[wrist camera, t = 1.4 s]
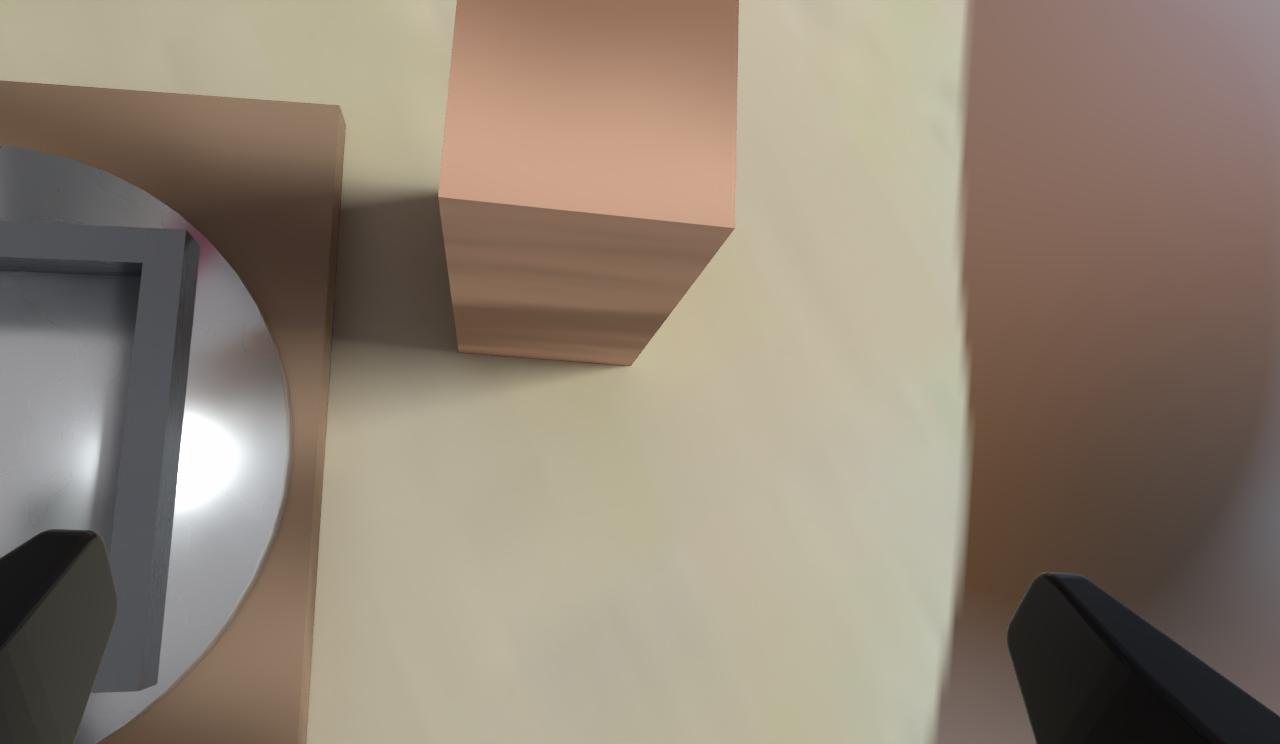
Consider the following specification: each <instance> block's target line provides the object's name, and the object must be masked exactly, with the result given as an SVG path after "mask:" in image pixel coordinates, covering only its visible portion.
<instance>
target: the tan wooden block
mask: <svg viewBox="0 0 1280 744" xmlns="http://www.w3.org/2000/svg"><path fill="white" fill-rule="evenodd" d="M738 15H739V0H457V6H456V16H455V26H454V37H453V47H452V57H451V68H450V78H449V88H448V98H447V109H446V119H445V129H444V140H443V150H442V160H441V171H440V181H439V191H438V201H439V208H440V216H441V223H442V231H443V238H444V246H445V253H446V261H447V268H448V276H449V283H450V291H451V298H452V306H453V313H454V321H455V328H456V336H457V343H458V351H459V352H460V353H472V354H485V355H498V356H511V357H524V358H537V359H550V360H563V361H576V362H588V363H601V364H614V365H627V366H631V365H632V364H633V362H634V361H635V360H636V358H637V357H638V356H639V354H640V353H641V352H642V350H643V349H644V348H645V346H646V345H647V344H648V342H649V341H650V340H651V338H652V337H653V336H654V334H655V333H656V332H657V330H658V329H659V328H660V327H661V325H662V324H663V323H664V321H665V320H666V319H667V317H668V316H669V315H670V313H671V312H672V311H673V309H674V308H675V307H676V305H677V304H678V303H679V301H680V300H681V299H682V297H683V296H684V295H685V293H686V292H687V291H688V289H689V288H690V287H691V285H692V284H693V283H694V282H695V280H696V279H697V278H698V276H699V275H700V274H701V272H702V271H703V270H704V268H705V267H706V266H707V264H708V263H709V262H710V260H711V259H712V258H713V256H714V255H715V254H716V252H717V251H718V250H719V248H720V247H721V246H722V244H723V243H724V242H725V240H726V239H727V238H728V237H729V235H730V234H731V233H732V231H733V230H734V229H735V189H736V131H737V73H738Z"/></svg>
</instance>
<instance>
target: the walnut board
mask: <svg viewBox="0 0 1280 744" xmlns="http://www.w3.org/2000/svg"><path fill="white" fill-rule="evenodd" d="M345 126H346V124H345V121H344V118H343V115H342V112H341V109H340V106H339V105H326V104H312V103H298V102H285V101H271V100H258V99H244V98H230V97H217V96H203V95H189V94H176V93H162V92H148V91H135V90H121V89H108V88H94V87H80V86H67V85H53V84H39V83H26V82H12V81H0V145H3V146H11V147H20V148H27V149H32V150H36V151H40V152H45V153H49V154H53V155H57V156H62V157H66V158H70V159H73V160H75V161H78V162H81V163H84V164H86V165H89V166H92V167H95V168H98V169H100V170H103V171H106V172H109V173H111V174H113V175H115V176H117V177H119V178H120V179H122V180H124V181H126V182H128V183H130V184H132V185H134V186H136V187H138V188H140V189H142V190H144V191H146V192H147V193H149V194H150V195H152V196H153V197H155V198H156V199H158V200H159V201H161V202H162V203H164V204H165V205H167V206H168V207H170V208H171V209H173V210H174V211H176V212H177V213H178V214H180V215H181V216H182V217H183V218H184V219H185V220H186V221H188V222H189V223H190V224H191V225H192V226H193V227H194V228H195V229H197V230H198V231H199V232H200V233H201V234H202V235H203V236H204V237H206V238H207V239H208V240H209V241H210V243H211V244H212V245H213V246H214V247H215V248H216V249H217V251H218V252H219V253H220V254H221V255H222V256H223V258H224V259H225V260H226V261H227V262H228V263H229V265H230V266H231V267H232V268H233V269H234V270H235V272H236V273H237V274H238V275H239V276H240V277H241V279H242V280H243V281H244V283H245V284H246V286H247V288H248V289H249V291H250V292H251V294H252V295H253V297H254V299H255V300H256V302H257V303H258V305H259V306H260V308H261V310H262V311H263V313H264V315H265V318H266V320H267V322H268V324H269V326H270V329H271V331H272V333H273V335H274V337H275V340H276V342H277V344H278V347H279V350H280V354H281V357H282V361H283V364H284V368H285V371H286V375H287V378H288V382H289V389H290V396H291V403H292V410H293V417H294V459H293V466H292V473H291V481H290V488H289V495H288V500H287V503H286V507H285V511H284V514H283V518H282V521H281V525H280V528H279V532H278V536H277V539H276V541H275V543H274V546H273V548H272V550H271V553H270V555H269V557H268V560H267V562H266V565H265V567H264V569H263V572H262V574H261V576H260V578H259V580H258V582H257V583H256V585H255V587H254V589H253V590H252V592H251V594H250V595H249V597H248V599H247V601H246V602H245V604H244V606H243V607H242V609H241V611H240V613H239V614H238V616H237V617H236V619H235V620H234V621H233V623H232V624H231V625H230V626H229V628H228V629H227V630H226V632H225V633H224V634H223V636H222V637H221V638H220V640H219V641H218V642H217V644H216V645H215V646H214V648H213V649H212V650H211V652H210V653H209V654H208V655H207V656H206V657H205V658H204V659H203V660H202V661H201V662H200V663H199V664H198V665H197V666H196V667H195V668H194V669H193V670H192V671H191V672H190V674H189V675H188V676H187V677H186V678H185V679H184V680H183V681H182V682H181V683H180V684H179V685H178V686H177V687H176V688H175V689H173V690H172V691H171V692H170V693H168V694H167V695H166V696H165V697H164V698H162V699H161V700H160V701H159V702H158V703H156V704H155V705H154V706H153V707H152V708H150V709H149V710H148V711H147V712H145V713H144V714H143V715H142V716H141V717H139V718H138V719H136V720H135V721H133V722H132V723H130V724H129V725H127V726H125V727H124V728H122V729H121V730H119V731H118V732H116V733H115V734H113V735H112V736H110V737H109V738H107V739H105V740H104V741H102V742H101V743H99V744H306V736H307V720H308V704H309V689H310V673H311V657H312V642H313V626H314V611H315V595H316V579H317V564H318V548H319V532H320V517H321V501H322V486H323V470H324V454H325V439H326V423H327V407H328V392H329V376H330V360H331V345H332V329H333V314H334V298H335V282H336V267H337V251H338V235H339V220H340V204H341V188H342V173H343V157H344V142H345Z"/></svg>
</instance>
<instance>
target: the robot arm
mask: <svg viewBox="0 0 1280 744" xmlns="http://www.w3.org/2000/svg"><path fill="white" fill-rule="evenodd" d="M117 608H118V597H117V591H116V587H115V583H114V579H113V575H112V570H111V566H110V562H109V558H108V554H107V550H106V546H105V543H104V540H103V538H102V537H101V536H100V534H98V533H97V532H94V531H90V530H67V529H50V530H46V531H43V532H41V533H39V534H37V535H35V536H34V537H32V538H31V539H29V540H28V541H26V542H24V543H23V544H21V545H20V546H18V547H17V548H15V549H14V550H12V551H10V552H9V553H7V554H6V555H4V556H3V557H1V558H0V744H74V741H75V738H76V735H77V732H78V729H79V726H80V723H81V720H82V717H83V714H84V711H85V709H86V706H87V703H88V700H89V697H90V694H91V691H92V688H93V685H94V682H95V679H96V676H97V673H98V670H99V668H100V665H101V662H102V659H103V656H104V653H105V650H106V647H107V644H108V641H109V638H110V635H111V632H112V629H113V627H114V623H115V620H116V615H117ZM1007 643H1008V649H1009V653H1010V656H1011V660H1012V663H1013V666H1014V670H1015V673H1016V677H1017V680H1018V683H1019V687H1020V690H1021V694H1022V697H1023V700H1024V704H1025V707H1026V711H1027V714H1028V717H1029V721H1030V724H1031V727H1032V731H1033V734H1034V738H1035V741H1036V744H1280V716H1278V715H1277V714H1276V713H1274V712H1273V711H1271V710H1270V709H1269V708H1267V707H1266V706H1265V705H1263V704H1262V703H1260V702H1259V701H1257V700H1256V699H1255V698H1253V697H1252V696H1251V695H1249V694H1248V693H1246V692H1245V691H1244V690H1242V689H1241V688H1239V687H1238V686H1237V685H1235V684H1234V683H1232V682H1231V681H1230V680H1228V679H1227V678H1225V677H1224V676H1223V675H1221V674H1220V673H1218V672H1217V671H1216V670H1214V669H1213V668H1211V667H1210V666H1209V665H1207V664H1206V663H1204V662H1203V661H1201V660H1200V659H1199V658H1197V657H1196V656H1195V655H1193V654H1192V653H1190V652H1189V651H1188V650H1186V649H1185V648H1183V647H1182V646H1181V645H1179V644H1178V643H1176V642H1175V641H1173V640H1172V639H1171V638H1170V637H1168V636H1167V635H1165V634H1164V633H1163V632H1161V631H1160V630H1158V629H1157V628H1155V627H1154V626H1153V625H1151V624H1150V623H1148V622H1147V621H1146V620H1144V619H1143V618H1141V617H1140V616H1139V615H1137V614H1136V613H1134V612H1133V611H1132V610H1130V609H1129V608H1128V607H1126V606H1125V605H1123V604H1122V603H1120V602H1119V601H1118V600H1116V599H1115V598H1114V597H1112V596H1111V595H1109V594H1108V593H1106V592H1105V591H1104V590H1102V589H1101V588H1100V587H1098V586H1097V585H1096V584H1094V583H1093V582H1091V581H1090V580H1088V579H1087V578H1085V577H1084V576H1082V575H1079V574H1075V573H1058V572H1045V573H1041V574H1039V575H1038V576H1037V577H1035V578H1034V580H1033V581H1032V583H1031V584H1030V586H1029V588H1028V590H1027V592H1026V593H1025V595H1024V597H1023V599H1022V601H1021V603H1020V604H1019V606H1018V608H1017V610H1016V612H1015V614H1014V616H1013V617H1012V619H1011V621H1010V623H1009V626H1008V630H1007Z"/></svg>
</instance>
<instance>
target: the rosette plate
mask: <svg viewBox="0 0 1280 744" xmlns="http://www.w3.org/2000/svg"><path fill="white" fill-rule="evenodd" d="M293 459H294V417H293V410H292V403H291V396H290V389H289V382H288V378H287V375H286V371H285V368H284V364H283V361H282V357H281V354H280V350H279V347H278V344H277V342H276V340H275V337H274V335H273V333H272V331H271V329H270V326H269V324H268V322H267V320H266V318H265V315H264V313H263V311H262V310H261V308H260V306H259V305H258V303H257V302H256V300H255V299H254V297H253V295H252V294H251V292H250V291H249V289H248V288H247V286H246V284H245V283H244V281H243V280H242V279H241V277H240V276H239V275H238V274H237V273H236V272H235V270H234V269H233V268H232V267H231V266H230V265H229V263H228V262H227V261H226V260H225V259H224V258H223V256H222V255H221V254H220V253H219V252H218V251H217V249H216V248H215V247H214V246H213V245H212V244H211V243H210V241H209V240H208V239H207V238H206V237H204V236H203V235H202V234H201V233H200V232H199V231H198V230H197V229H195V228H194V227H193V226H192V225H191V224H190V223H189V222H188V221H186V220H185V219H184V218H183V217H182V216H181V215H180V214H178V213H177V212H176V211H174V210H173V209H171V208H170V207H168V206H167V205H165V204H164V203H162V202H161V201H159V200H158V199H156V198H155V197H153V196H152V195H150V194H149V193H147V192H146V191H144V190H142V189H140V188H138V187H136V186H134V185H132V184H130V183H128V182H126V181H124V180H122V179H120V178H119V177H117V176H115V175H113V174H111V173H109V172H106V171H103V170H100V169H98V168H95V167H92V166H89V165H86V164H84V163H81V162H78V161H75V160H73V159H70V158H66V157H62V156H57V155H53V154H49V153H45V152H40V151H36V150H32V149H27V148H20V147H11V146H3V145H0V558H1V557H3V556H4V555H6V554H7V553H9V552H10V551H12V550H14V549H15V548H17V547H18V546H20V545H21V544H23V543H24V542H26V541H28V540H29V539H31V538H32V537H34V536H35V535H37V534H39V533H41V532H43V531H46V530H50V529H67V530H90V531H94V532H97V533H98V534H100V536H101V537H102V538H103V540H104V543H105V546H106V550H107V554H108V558H109V562H110V566H111V570H112V575H113V579H114V583H115V587H116V591H117V597H118V608H117V615H116V620H115V623H114V627H113V629H112V632H111V635H110V638H109V641H108V644H107V647H106V650H105V653H104V656H103V659H102V662H101V665H100V668H99V670H98V673H97V676H96V679H95V682H94V685H93V688H92V691H91V694H90V697H89V700H88V703H87V706H86V709H85V711H84V714H83V717H82V720H81V723H80V726H79V729H78V732H77V735H76V738H75V741H74V744H99V743H101V742H102V741H104V740H105V739H107V738H109V737H110V736H112V735H113V734H115V733H116V732H118V731H119V730H121V729H122V728H124V727H125V726H127V725H129V724H130V723H132V722H133V721H135V720H136V719H138V718H139V717H141V716H142V715H143V714H144V713H145V712H147V711H148V710H149V709H150V708H152V707H153V706H154V705H155V704H156V703H158V702H159V701H160V700H161V699H162V698H164V697H165V696H166V695H167V694H168V693H170V692H171V691H172V690H173V689H175V688H176V687H177V686H178V685H179V684H180V683H181V682H182V681H183V680H184V679H185V678H186V677H187V676H188V675H189V674H190V672H191V671H192V670H193V669H194V668H195V667H196V666H197V665H198V664H199V663H200V662H201V661H202V660H203V659H204V658H205V657H206V656H207V655H208V654H209V653H210V652H211V650H212V649H213V648H214V646H215V645H216V644H217V642H218V641H219V640H220V638H221V637H222V636H223V634H224V633H225V632H226V630H227V629H228V628H229V626H230V625H231V624H232V623H233V621H234V620H235V619H236V617H237V616H238V614H239V613H240V611H241V609H242V607H243V606H244V604H245V602H246V601H247V599H248V597H249V595H250V594H251V592H252V590H253V589H254V587H255V585H256V583H257V582H258V580H259V578H260V576H261V574H262V572H263V569H264V567H265V565H266V562H267V560H268V557H269V555H270V553H271V550H272V548H273V546H274V543H275V541H276V539H277V536H278V532H279V528H280V525H281V521H282V518H283V514H284V511H285V507H286V503H287V500H288V495H289V488H290V481H291V473H292V466H293Z"/></svg>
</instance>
